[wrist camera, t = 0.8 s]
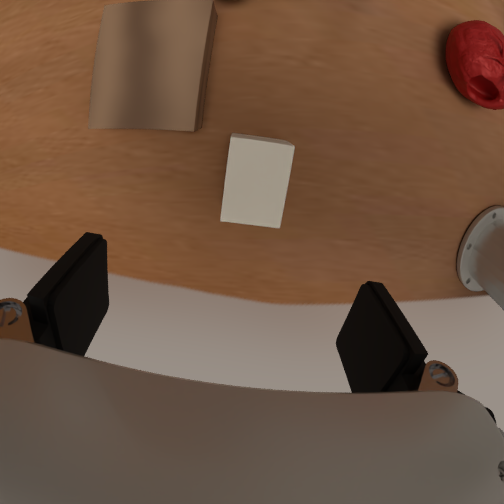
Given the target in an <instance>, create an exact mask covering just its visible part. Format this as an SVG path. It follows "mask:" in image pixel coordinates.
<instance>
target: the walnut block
mask: <svg viewBox="0 0 504 504" xmlns="http://www.w3.org/2000/svg"><path fill="white" fill-rule="evenodd" d="M217 17H218V16H217V13H216V9H215V5H214V1H213V0H151V1H138V2H128V3H119V4H111V5H105V6H104V10H103V15H102V20H101V25H100V30H99V35H98V41H97V47H96V53H95V60H94V68H93V76H92V85H91V95H90V108H89V124H88V129H159V130H178V131H193V132H194V131H196V130H198V129H200V128H202V119H203V111H204V102H205V95H206V87H207V80H208V73H209V66H210V59H211V52H212V46H213V40H214V34H215V28H216V22H217Z"/></svg>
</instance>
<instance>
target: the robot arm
mask: <svg viewBox="0 0 504 504" xmlns="http://www.w3.org/2000/svg"><path fill="white" fill-rule="evenodd" d="M457 272H458V277H459V279H460V281H461V282H462V283H463V285H464V286H465V287H466V288H468V289H469V290H471V291H483V290H485V291H486V292H487V293H488V294H489V295H490V296H491V297H492V298H493V299H494V300H495V301H496V303H497V304H498V305H500V307H501V308H502V309H503V310H504V207H503V206H493V207H490V208H488V209H486V210H485V211H484V212H482V213H481V214H480V215H479V216H478V217H477V218H476V219H475V220H474V221H473V223H472V224H471V225H470V227H469V228H468V230H467V232H466V234H465V235H464V238H463V240H462V243H461V245H460V249H459V252H458V258H457ZM27 296H28V297H27V298H26V299H25V300H24V302H22V301H20V300H18V299H14V298H6V299H2V300H0V504H504V432H503V431H502V430H501V429H500V428H498V427H497V425H496V420H495V418H494V414H493V412H492V411H491V410H490V409H488V408H486V407H484V406H483V405H482V404H481V403H480V402H479V401H477V400H475V399H473V398H471V397H469V396H466V395H465V394H463V393H461V392H460V391H458V390H457V389H458V378H457V376H456V374H455V372H454V371H453V370H452V369H451V368H450V367H449V366H448V365H446V364H445V363H442V362H440V361H436V360H433V361H429V362H428V363H427V364H425V362H424V360H425V358H426V357H427V355H428V353H427V351H426V349H425V348H424V346H423V344H422V343H421V341H420V340H419V338H418V336H417V335H416V333H415V332H414V330H413V328H412V327H411V325H410V324H409V322H408V321H407V319H406V318H405V316H404V315H403V313H402V312H401V310H400V309H399V307H398V306H397V304H396V302H395V301H394V299H393V298H392V297H391V295H390V294H389V292H388V291H387V289H386V288H385V286H384V285H383V284H382V283H378V282H372V281H367V282H366V283H365V284H362V285H361V287H360V289H359V291H358V294H357V296H356V298H355V300H354V303H353V305H352V307H351V309H350V311H349V314H348V316H347V318H346V320H345V322H344V324H343V326H342V328H341V331H340V332H339V335H338V337H337V340H336V347H337V350H338V352H339V355H340V358H341V361H342V364H343V367H344V370H345V373H346V376H347V379H348V382H349V385H350V388H351V391H352V393H333V392H304V391H286V390H272V389H261V388H250V387H240V386H232V385H224V384H216V383H209V382H202V381H196V380H190V379H183V378H177V377H171V376H166V375H161V374H155V373H151V372H146V371H141V370H137V369H132V368H128V367H123V366H119V365H115V364H111V363H107V362H103V361H99V360H95V359H92V358H88V357H84V355H85V353H86V351H87V349H88V347H89V345H90V343H91V341H92V339H93V337H94V335H95V333H96V331H97V330H98V328H99V326H100V324H101V322H102V320H103V318H104V316H105V314H106V313H107V310H108V306H109V295H108V272H107V241H106V240H105V239H103V237H102V235H100V234H95V233H89V232H86V233H85V234H84V235H83V236H82V237H81V238H80V239H79V240H78V241H77V242H76V243H75V244H74V245H73V246H72V247H71V248H70V249H69V250H68V251H67V252H66V253H65V254H64V255H63V256H62V257H61V258H60V259H59V260H58V261H57V262H56V263H55V264H54V265H53V266H52V267H51V268H50V270H49V271H48V272H47V273H46V274H45V275H44V276H43V277H42V278H41V280H40V281H39V282H38V283H37V284H36V285H35V286H34V287H33V288H32V289H31V291H30V292H29V293H28V294H27Z"/></svg>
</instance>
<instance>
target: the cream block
mask: <svg viewBox="0 0 504 504" xmlns="http://www.w3.org/2000/svg"><path fill="white" fill-rule="evenodd" d="M294 149H295V146H294V145H292V144H291V143H290V142H288V141H286V140H280V139H274V138H268V137H261V136H254V135H246V134H239V133H232V135H231V139H230V146H229V154H228V161H227V169H226V177H225V185H224V193H223V202H222V210H221V219H220V221H224V222H232V223H240V224H249V225H257V226H265V227H273V228H280V224H281V219H282V214H283V209H284V203H285V198H286V193H287V187H288V182H289V177H290V171H291V166H292V160H293V155H294Z"/></svg>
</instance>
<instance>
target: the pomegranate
mask: <svg viewBox="0 0 504 504" xmlns="http://www.w3.org/2000/svg"><path fill="white" fill-rule="evenodd" d="M446 63H447V67H448V70H449V73H450V76H451V78H452V81H453V82H454V84H455V86H456V88H457V89H458V91H459V92H460V93H461V94H462V95H463V96H464V97H466V98H467V99H469V100H470V101H472V102H474V103H475V104H477V105H480V106H482V107H484V108H488V109H493V110H497V109H504V35H503V34H502V33H501V31H500V30H498V29H497V28H496V27H494V26H492V25H490V24H488V23H487V22H485V21H479V20H474V21H468V22H464V23H461V24H459V25H457V26H456V27H454V28H453V29H452V30H451V32H450V34H449V36H448V39H447V43H446Z"/></svg>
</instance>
